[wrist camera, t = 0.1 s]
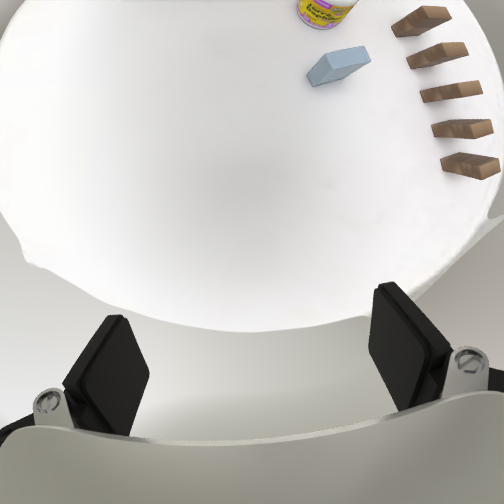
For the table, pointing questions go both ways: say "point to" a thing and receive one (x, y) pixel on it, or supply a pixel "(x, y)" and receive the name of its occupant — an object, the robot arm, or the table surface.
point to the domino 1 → (338, 65)
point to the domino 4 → (452, 91)
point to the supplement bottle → (324, 12)
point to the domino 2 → (421, 21)
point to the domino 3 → (437, 54)
